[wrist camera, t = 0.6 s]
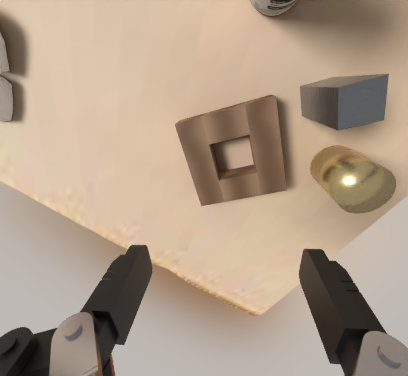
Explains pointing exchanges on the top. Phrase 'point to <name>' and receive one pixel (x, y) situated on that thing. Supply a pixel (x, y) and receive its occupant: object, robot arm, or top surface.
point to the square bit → (345, 100)
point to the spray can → (273, 6)
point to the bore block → (228, 129)
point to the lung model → (5, 86)
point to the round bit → (352, 179)
